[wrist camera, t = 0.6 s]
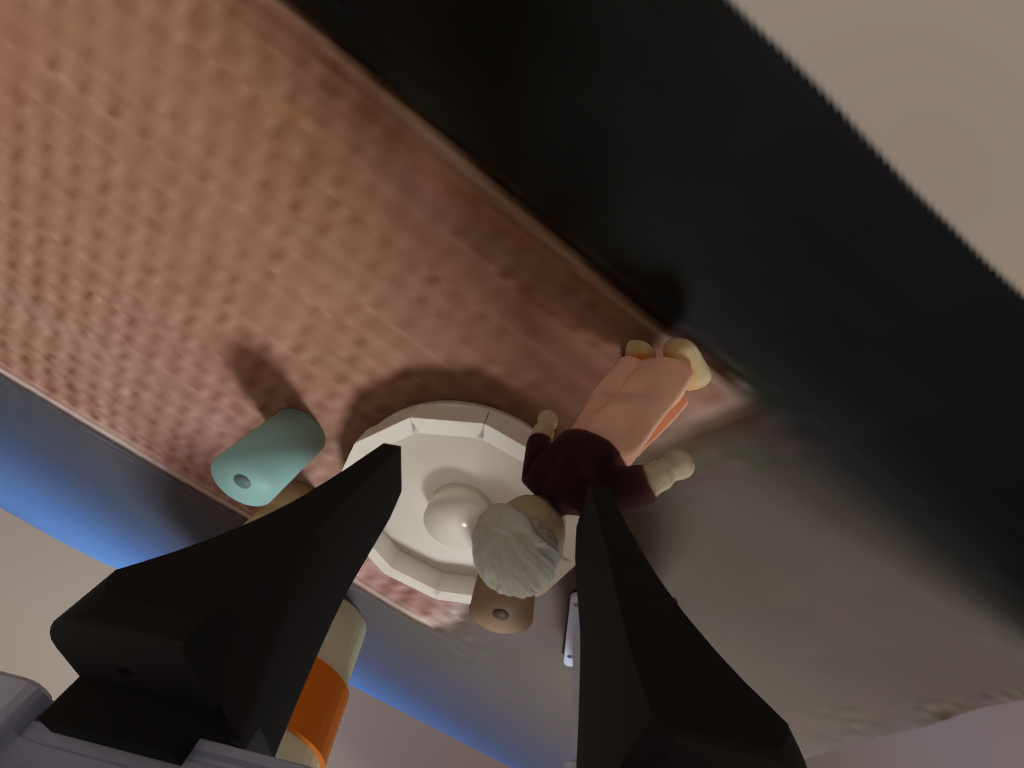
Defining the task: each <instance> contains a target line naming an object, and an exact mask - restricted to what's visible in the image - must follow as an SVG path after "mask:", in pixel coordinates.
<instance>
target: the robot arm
mask: <svg viewBox="0 0 1024 768" xmlns="http://www.w3.org/2000/svg"><path fill="white" fill-rule="evenodd" d="M401 492H402V471H401V446H398V445H392V444H387V443H383V444H381V445H380V446H378V447H377V448H375V449H374V450H372V451H371V452H370V453H368V454H367V455H365V456H364V457H362V458H361V459H359V460H358V461H357V462H355V463H354V464H352V465H351V466H349V467H348V468H346V469H345V470H343V471H342V472H340V473H339V474H337V475H336V476H334V477H333V478H331V479H330V480H328V481H326V482H325V483H323V484H321V485H320V486H318V487H316V488H315V489H313V490H312V491H310V492H308V493H307V494H305V495H303V496H301V497H300V498H298V499H296V500H294V501H292V502H290V503H289V504H287V505H285V506H283V507H281V508H279V509H277V510H275V511H273V512H271V513H269V514H267V515H265V516H263V517H260V518H258V519H256V520H254V521H251V522H249V523H247V524H245V525H242V526H240V527H238V528H235V529H233V530H231V531H229V532H226V533H224V534H221V535H219V536H216V537H214V538H211V539H208V540H206V541H203V542H200V543H198V544H195V545H192V546H189V547H187V548H184V549H181V550H178V551H175V552H172V553H169V554H166V555H163V556H160V557H156V558H153V559H150V560H147V561H144V562H140V563H137V564H134V565H131V566H127V567H124V568H121V569H117V570H115V571H114V572H113V573H112V574H110V575H109V576H108V577H107V578H106V579H104V580H103V581H102V582H101V583H100V584H98V585H97V586H96V587H95V588H93V589H92V590H91V591H90V592H89V593H87V594H86V595H85V596H84V597H83V598H81V599H80V600H79V601H78V602H76V603H75V604H74V605H73V606H72V607H70V608H69V609H68V610H67V611H66V612H65V613H63V614H62V615H61V616H60V617H58V618H57V619H56V620H55V621H54V622H53V624H52V625H51V629H50V636H51V640H52V641H53V643H54V644H55V646H56V648H57V649H58V650H59V651H60V652H61V654H62V655H63V656H64V657H65V659H66V660H67V661H68V662H69V664H70V665H71V666H72V667H73V668H74V670H75V671H76V672H77V674H78V675H79V676H80V677H79V678H78V679H77V680H76V681H75V682H74V683H73V684H72V685H71V686H69V687H68V688H67V690H66V691H64V692H63V693H62V694H61V695H60V696H59V697H58V698H57V699H56V700H55V701H53V700H52V696H51V695H50V693H49V692H48V691H47V690H46V689H45V688H44V687H43V686H41V685H40V684H39V683H37V682H35V681H33V680H30V679H28V678H25V677H21V676H17V675H13V674H9V673H5V672H1V671H0V768H314V767H310V766H307V765H303V764H299V763H295V762H291V761H287V760H283V759H279V758H275V756H276V753H277V751H278V748H279V746H280V743H281V741H282V738H283V736H284V733H285V731H286V728H287V726H288V723H289V721H290V718H291V716H292V714H293V711H294V709H295V706H296V704H297V701H298V699H299V697H300V694H301V692H302V690H303V687H304V685H305V683H306V680H307V678H308V676H309V673H310V671H311V669H312V666H313V664H314V662H315V659H316V657H317V655H318V653H319V651H320V648H321V646H322V644H323V642H324V640H325V637H326V635H327V633H328V631H329V629H330V626H331V624H332V622H333V620H334V618H335V616H336V614H337V612H338V610H339V607H340V605H341V603H342V601H343V599H344V597H345V595H346V593H347V591H348V589H349V587H350V586H351V584H352V582H353V580H354V578H355V577H356V575H357V573H358V572H359V570H360V568H361V566H362V565H363V563H364V561H365V560H366V558H367V556H368V555H369V553H370V551H371V550H372V548H373V546H374V545H375V543H376V541H377V540H378V538H379V536H380V535H381V533H382V531H383V529H384V528H385V526H386V524H387V523H388V521H389V519H390V517H391V515H392V513H393V510H394V508H395V506H396V504H397V501H398V499H399V497H400V494H401ZM575 567H576V583H577V592H575V593H572V594H571V597H570V606H569V615H568V623H567V632H566V641H565V649H564V659H563V662H564V664H565V665H567V666H571V667H573V762H565V763H564V768H807V766H806V764H805V761H804V758H803V756H802V754H801V751H800V749H799V747H798V745H797V743H796V741H795V739H794V736H793V734H792V732H791V730H790V728H789V726H788V724H787V723H786V722H785V721H784V720H783V719H782V718H781V717H780V716H779V715H778V714H777V713H776V712H775V711H774V710H773V709H772V708H771V707H770V706H769V705H768V704H767V703H766V702H765V701H764V700H763V699H762V698H761V697H760V696H759V695H758V694H757V693H756V692H755V691H754V690H753V689H752V688H750V687H749V686H748V685H747V684H746V683H745V682H744V681H743V680H742V678H741V677H740V676H739V675H738V674H737V673H736V672H735V671H734V670H733V669H732V668H731V667H730V666H729V665H728V664H727V663H726V661H725V660H724V659H723V658H722V657H721V656H720V655H719V654H718V653H717V652H716V650H715V649H714V648H713V647H712V646H711V645H710V644H709V642H708V641H707V640H706V639H705V638H704V636H703V635H702V634H701V633H700V632H699V631H698V629H697V628H696V627H695V626H694V625H693V623H692V622H691V621H690V620H689V619H688V617H687V616H686V615H685V614H684V612H683V611H682V610H681V608H680V607H679V606H678V604H677V603H676V602H675V600H674V599H673V598H672V596H671V595H670V593H669V592H668V591H667V589H666V588H665V586H664V585H663V584H662V582H661V581H660V579H659V578H658V576H657V575H656V573H655V572H654V570H653V568H652V567H651V565H650V564H649V562H648V560H647V559H646V557H645V555H644V554H643V552H642V550H641V549H640V547H639V545H638V543H637V542H636V540H635V538H634V536H633V534H632V533H631V531H630V529H629V527H628V525H627V523H626V521H625V519H624V517H623V516H622V514H621V512H620V509H619V507H618V505H617V503H616V501H615V499H614V497H613V495H612V492H611V490H610V489H609V487H606V486H601V485H596V484H591V483H589V487H588V490H587V493H586V497H585V500H584V503H583V507H582V510H581V513H580V516H579V520H578V523H577V526H576V543H575Z"/></svg>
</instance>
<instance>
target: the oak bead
mask: <svg viewBox="0 0 1024 768" xmlns="http://www.w3.org/2000/svg"><path fill="white" fill-rule="evenodd" d="M312 490H313V488H312V487H310V486H308V485H306V484H303V483H299V482H289V484H288V485H287V486H286V487H285V488H284V489H283V490H282V491H281V492H280V493H279V494H278V495H277V496H276V497H275V498H274V499H273V500H272V501H271V502H270V503H268V504H266V505H264V506H261V507H260V508H259V509H258V510H257V511H256V512H255V513H254V514H253V515H252V516H251V517H250V518H249V519H248V520H247V521H246V522H245V523H244V524H243V525H245V524H247V523H249V522H251V521H254V520H256V519H258V518H260V517H263V516H265V515H267V514H269V513H271V512H273V511H275V510H277V509H279V508H281V507H283V506H285V505H287V504H289V503H290V502H292V501H294V500H296V499H298V498H300V497H301V496H303V495H305V494H307V493H308V492H310V491H312Z"/></svg>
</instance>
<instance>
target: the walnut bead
mask: <svg viewBox="0 0 1024 768" xmlns="http://www.w3.org/2000/svg"><path fill="white" fill-rule="evenodd" d="M534 600H535V595H533V596H532V597H526V598H524V599H521V598H518V597H515V596H510V597H509V596H507V595H505V594H499V593H498V592H497V591H495V590H493V589H491V588H489V587H488V586H487V585H486V583H485V582H484V581H483V579H482V578H481V577H480V575H479V573H478V575H477V579H476V583H475V587H474V591H473V595H472V599H471V603H470V607H469V611H470V614H471V616H472V618H473V619H474V620H475V621H476V622H477V623H478V624H479V625H481V626H482V627H484V628H486V629H488V630H490V631H493V632H497V633H503V634H514V633H519V632H522V631H524V630H526V629H527V628H529V627H530V625H531V624H532V621H533V611H534Z"/></svg>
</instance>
